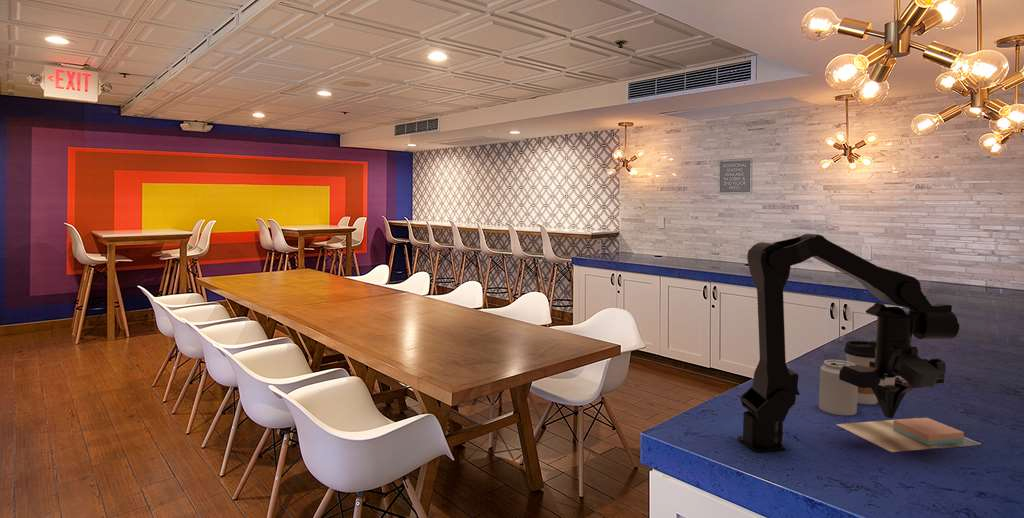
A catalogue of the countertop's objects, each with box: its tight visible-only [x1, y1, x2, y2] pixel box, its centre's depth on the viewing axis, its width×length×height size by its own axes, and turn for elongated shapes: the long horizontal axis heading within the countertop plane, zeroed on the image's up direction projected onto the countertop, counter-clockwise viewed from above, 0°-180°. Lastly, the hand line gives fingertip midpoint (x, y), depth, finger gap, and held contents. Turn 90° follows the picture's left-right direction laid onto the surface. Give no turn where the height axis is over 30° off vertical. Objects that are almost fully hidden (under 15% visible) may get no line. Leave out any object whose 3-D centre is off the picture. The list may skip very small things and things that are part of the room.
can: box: [818, 359, 858, 416], centre depth 130 cm, size 8×8×12 cm
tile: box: [893, 417, 965, 446], centre depth 115 cm, size 2×8×8 cm
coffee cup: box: [843, 340, 879, 405], centre depth 136 cm, size 8×8×15 cm
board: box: [836, 417, 982, 453], centre depth 116 cm, size 20×14×1 cm
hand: (888, 417), depth 113 cm, fingers closed
